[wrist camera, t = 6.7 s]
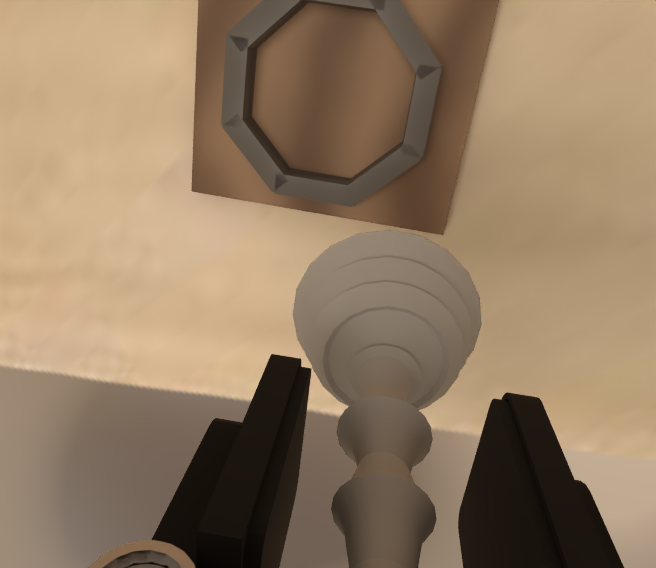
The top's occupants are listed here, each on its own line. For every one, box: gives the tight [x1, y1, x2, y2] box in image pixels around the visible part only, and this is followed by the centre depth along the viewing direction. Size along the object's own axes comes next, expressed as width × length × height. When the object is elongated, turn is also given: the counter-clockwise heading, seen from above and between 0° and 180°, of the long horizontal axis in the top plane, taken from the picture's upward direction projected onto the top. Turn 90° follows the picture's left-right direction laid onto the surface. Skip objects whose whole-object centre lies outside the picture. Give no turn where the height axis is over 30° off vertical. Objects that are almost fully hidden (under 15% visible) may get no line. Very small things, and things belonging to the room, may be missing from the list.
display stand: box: [192, 0, 499, 235], centre depth 30 cm, size 16×14×4 cm
